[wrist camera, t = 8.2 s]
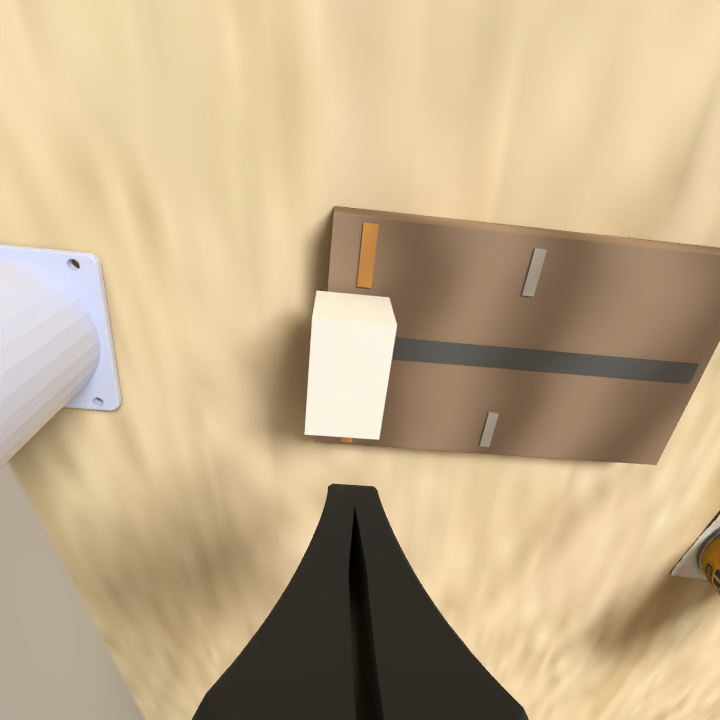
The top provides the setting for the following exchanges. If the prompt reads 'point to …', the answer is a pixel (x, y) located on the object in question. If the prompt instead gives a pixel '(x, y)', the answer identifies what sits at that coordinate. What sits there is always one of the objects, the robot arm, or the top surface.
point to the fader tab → (349, 364)
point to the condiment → (703, 557)
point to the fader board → (531, 334)
